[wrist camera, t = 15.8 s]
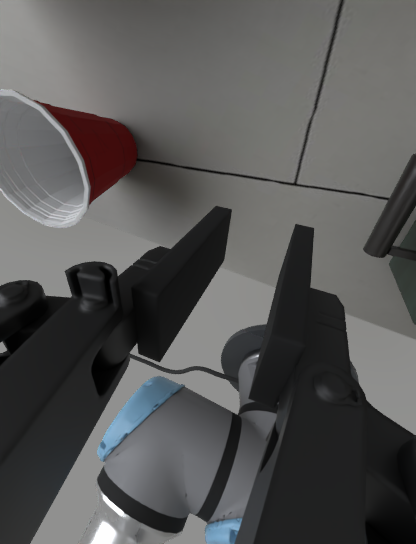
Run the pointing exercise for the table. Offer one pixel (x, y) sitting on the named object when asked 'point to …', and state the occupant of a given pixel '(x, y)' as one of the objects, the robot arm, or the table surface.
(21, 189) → the plastic cup
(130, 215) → the table surface
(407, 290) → the drawer
